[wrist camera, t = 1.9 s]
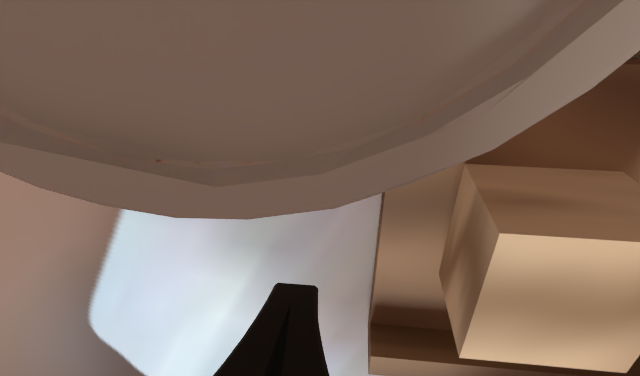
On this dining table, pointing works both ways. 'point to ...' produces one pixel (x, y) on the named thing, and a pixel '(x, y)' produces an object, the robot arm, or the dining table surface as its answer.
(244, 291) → the dining table surface
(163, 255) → the dining table surface
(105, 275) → the dining table surface
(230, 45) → the disposable coffee cup
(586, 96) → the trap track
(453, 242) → the maple block
